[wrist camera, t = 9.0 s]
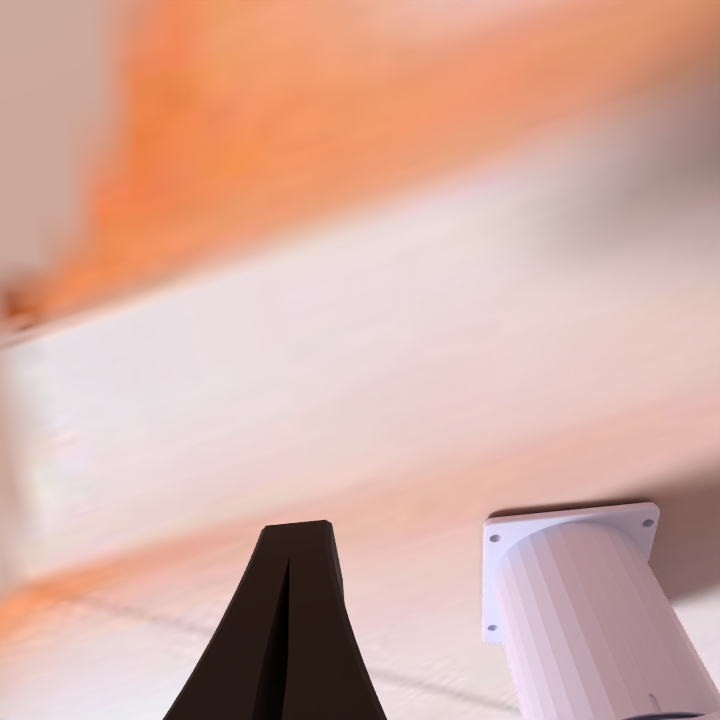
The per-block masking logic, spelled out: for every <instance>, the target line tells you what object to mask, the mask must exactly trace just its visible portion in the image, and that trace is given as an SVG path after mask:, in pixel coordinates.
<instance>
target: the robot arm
mask: <svg viewBox="0 0 720 720" xmlns="http://www.w3.org/2000/svg"><path fill="white" fill-rule="evenodd" d="M659 518H660V510H659V508H658V507H657V505H656V504H655V503H652V502H645V503H635V504H625V505H615V506H605V507H595V508H585V509H575V510H565V511H554V512H544V513H534V514H524V515H514V516H504V517H494V518H490V519H488V520H486V521H485V522H484V524H483V560H482V638H483V641H484V642H486V643H488V644H495V643H503V646H504V650H505V654H506V658H507V662H508V665H509V669H510V673H511V677H512V681H513V685H514V689H515V693H516V697H517V700H518V704H519V708H520V712H521V716H522V720H720V693H719V691H718V689H717V687H716V686H715V684H714V682H713V680H712V678H711V677H710V675H709V673H708V671H707V669H706V668H705V666H704V664H703V662H702V660H701V659H700V657H699V655H698V653H697V651H696V650H695V648H694V646H693V644H692V642H691V641H690V639H689V637H688V635H687V633H686V632H685V630H684V628H683V626H682V624H681V622H680V621H679V619H678V617H677V615H676V613H675V612H674V610H673V608H672V606H671V604H670V603H669V601H668V599H667V597H666V595H665V594H664V592H663V590H662V588H661V586H660V585H659V583H658V581H657V579H656V577H655V576H654V574H653V572H652V570H651V568H650V567H649V565H648V562H649V558H650V554H651V550H652V546H653V542H654V538H655V534H656V530H657V526H658V522H659ZM495 534H496V535H495ZM163 720H387V718H386V716H385V714H384V711H383V709H382V706H381V704H380V702H379V699H378V697H377V695H376V692H375V690H374V687H373V685H372V682H371V680H370V677H369V675H368V672H367V669H366V667H365V664H364V662H363V659H362V656H361V653H360V651H359V648H358V645H357V642H356V639H355V636H354V633H353V630H352V627H351V624H350V621H349V618H348V614H347V611H346V608H345V603H344V591H343V579H342V574H341V569H340V564H339V558H338V553H337V548H336V543H335V538H334V532H333V527H332V523H330V522H328V521H327V520H319V521H309V522H299V523H289V524H279V525H269V526H266V527H265V528H264V529H263V530H262V531H261V534H260V536H259V539H258V542H257V544H256V547H255V549H254V552H253V554H252V556H251V559H250V561H249V563H248V566H247V568H246V570H245V572H244V574H243V577H242V579H241V581H240V583H239V585H238V587H237V590H236V592H235V594H234V596H233V598H232V600H231V602H230V604H229V606H228V608H227V610H226V612H225V614H224V616H223V618H222V620H221V622H220V624H219V625H218V627H217V629H216V631H215V633H214V635H213V637H212V638H211V640H210V642H209V644H208V645H207V647H206V649H205V651H204V653H203V654H202V656H201V658H200V660H199V661H198V663H197V665H196V667H195V669H194V670H193V672H192V674H191V675H190V677H189V679H188V680H187V682H186V684H185V685H184V687H183V689H182V690H181V692H180V693H179V695H178V697H177V698H176V700H175V701H174V703H173V705H172V706H171V708H170V709H169V711H168V712H167V714H166V715H165V717H164V718H163Z"/></svg>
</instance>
